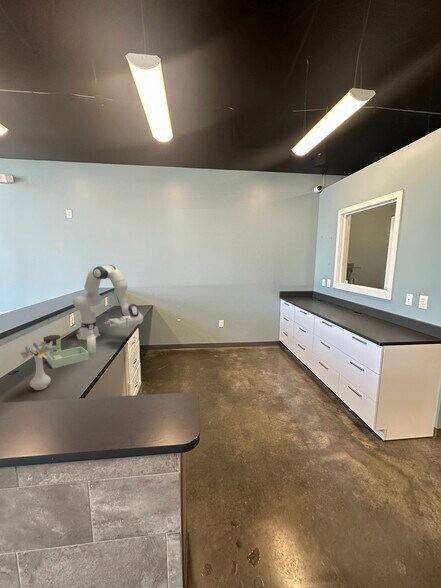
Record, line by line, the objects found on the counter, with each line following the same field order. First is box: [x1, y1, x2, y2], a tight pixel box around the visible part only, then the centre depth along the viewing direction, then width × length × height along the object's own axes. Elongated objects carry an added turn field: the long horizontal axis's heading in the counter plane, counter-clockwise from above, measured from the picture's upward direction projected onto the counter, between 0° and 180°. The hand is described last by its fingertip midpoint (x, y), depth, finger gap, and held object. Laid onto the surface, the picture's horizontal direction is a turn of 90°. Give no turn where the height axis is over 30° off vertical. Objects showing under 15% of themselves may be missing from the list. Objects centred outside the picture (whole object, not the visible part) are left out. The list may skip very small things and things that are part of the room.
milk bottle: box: [86, 328, 97, 354], centre depth 189 cm, size 6×6×19 cm
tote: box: [46, 346, 90, 369], centre depth 172 cm, size 16×22×6 cm
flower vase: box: [20, 341, 57, 391], centre depth 136 cm, size 13×18×25 cm
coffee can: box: [43, 334, 62, 355], centre depth 180 cm, size 10×10×14 cm
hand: (107, 324), depth 197 cm, fingers open, 8 cm apart
